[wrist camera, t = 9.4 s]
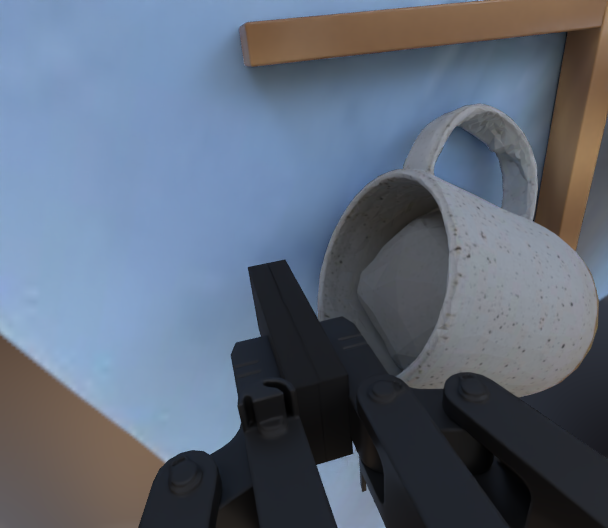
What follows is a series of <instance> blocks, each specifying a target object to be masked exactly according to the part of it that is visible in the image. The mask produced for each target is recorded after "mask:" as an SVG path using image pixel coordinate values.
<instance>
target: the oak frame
mask: <svg viewBox="0 0 608 528" xmlns="http://www.w3.org/2000/svg"><path fill="white" fill-rule="evenodd" d="M559 32H567V37H566V43H565V49H564V54H563V60H562V66H561V72H560V77H559V83H558V89H557V95H556V100H555V106H554V112H553V118H552V123H551V129H550V135H549V140H548V146H547V152H546V158H545V163H544V169H543V175H542V181H541V186H540V192H539V198H538V204H537V209H536V215H535V221H534V222H535V223H537V224H539V225H541V226H543V227H545V228H547V229H548V230H550V231H551V232H553V233H555V234H556V235H557V236H558V237H560V238H561V239H562V240H563V241H564V242H566V243H567V244H568V245H569V246H570V247H571V248H572V249H573V250H574V251H575V252H576V248H577V243H578V239H579V235H580V230H581V226H582V222H583V218H584V213H585V209H586V205H587V200H588V196H589V192H590V187H591V183H592V179H593V174H594V170H595V166H596V162H597V157H598V153H599V149H600V144H601V140H602V136H603V131H604V127H605V123H606V118H607V114H608V0H483V1H472V2H461V3H450V4H440V5H429V6H418V7H407V8H396V9H385V10H374V11H363V12H353V13H342V14H331V15H320V16H309V17H298V18H287V19H277V20H266V21H255V22H247V23H245V24H243V25H242V26H240V27H239V33H240V40H241V47H242V54H243V60H244V65H245V66H247V67H257V66H266V65H275V64H284V63H293V62H302V61H310V60H319V59H328V58H337V57H346V56H355V55H364V54H373V53H382V52H390V51H399V50H408V49H417V48H426V47H435V46H444V45H453V44H462V43H470V42H479V41H488V40H497V39H506V38H515V37H524V36H533V35H542V34H550V33H559Z"/></svg>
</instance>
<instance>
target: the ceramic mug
mask: <svg viewBox="0 0 608 528" xmlns="http://www.w3.org/2000/svg"><path fill="white" fill-rule="evenodd" d="M457 126H458V127H461V128H463V129H464V130H466V131H467V132H469V133H470V134H472V135H473V136H475V137H476V138H478V139H479V140H481V141H482V142H483V143H485V144H486V145H487V146H488V148H489V149H490V151H492V152H495V153H496V155H497V157H498V159H499V163H500V168H501V172H502V179H503V200H502V207H501V208H500V207H498V206H496V205H494V204H492V203H490V202H488V201H486V200H484V199H482V198H480V197H478V196H476V195H474V194H472V193H470V192H468V191H465V190H463V189H461V188H459V187H457V186H455V185H453V184H451V183H448V182H446V181H444V180H442V179H440V178H438V177H436V176H434V165H435V162H436V160H437V158H438V156H439V154H440V153H441V151H442V149H443V146H444V144H445V142H446V141H447V139H448V137H449V136H450V134H451V132H452V131H453V129H454V128H455V127H457ZM537 192H538V182H537V165H536V161H535V158H534V155H533V152H532V149H531V146H530V144H529V142H528V140H527V138H526V136H525V134H524V133H523V132H522V130H521V129H520V128H519V126H518V125H517V124H516V123H515V122H514V121H513V120H512V119H511V118H510V117H509V116H507V115H506V114H504V113H503V112H501V111H500V110H498V109H496V108H494V107H491V106H488V105H485V104H474V105H467V106H463V107H461V108H459V109H457V110H455V111H452V112H449V113H446V114H443V115H441V116H440V117H438V118H436V119H435V120H433V121H432V122H430V123H429V124H428V125H427V126H426V127H425V128H424V129H423V130H422V131H421V132H420V134H419V135H418V136H417V138H416V140H415V142H414V144H413V146H412V148H411V150H410V152H409V154H408V156H407V158H406V160H405V163H404V166H403V169H397V170H393V171H390V172H387V173H385V174H383V175H380V176H378V177H377V178H376V179H374V180H373V181H371V182H370V183H368V184H367V185H366V186H365V187H364V188H363V189H362V190H361V191H360V192H359V193H358V194H357V195H356V196H355V197H354V199H353V200H352V201H351V203H350V204H349V206H348V207H347V208H346V210H345V211H344V213H343V215H342V216H341V218H340V220H339V222H338V224H337V226H336V228H335V230H334V232H333V234H332V237H331V239H330V242H329V244H328V246H327V250H326V253H325V256H324V260H323V264H322V268H321V272H320V277H319V289H318V304H317V309H318V320H319V322H320V321H324V320H328V319H333V318H337V317H341V316H343V317H344V318H346V319H348V320H349V321H351V322H353V323H354V324H355V325H356V327H357V328H358V330H359V331H360V333H361V335H362V336H363V337H364V339H365V340H366V341H367V344H369V346H370V347H371V349H372V350H373V352H374V353H375V355H376V356H377V358H378V359H379V361H380V362H381V364H382V365H383V366H384V368H385V369H386V371H387V372H388V374H389V375H393V376H395V377H397V378H400V379H402V380H403V381H404V382H405V383H406V384H407V385H408V386H409V387H412V388H418V389H444V384H445V381H446V380H447V379H448V378H449V377H450V376H451V375H454V374H457V373H460V372H472V373H476V374H481V375H483V376H485V377H487V378H489V379H491V380H493V381H494V382H496V383H497V384H499V385H500V386H502V387H503V388H505V389H506V390H508V391H509V392H511V393H512V394H514V395H515V396H516V397H522V396H526V395H530V394H534V393H538V392H541V391H543V390H546V389H548V388H550V387H552V386H554V385H556V384H558V383H560V382H562V381H563V380H564V379H565V378H566V377H567V376H569V375H570V374H571V373H572V372H573V371H574V370H576V369H577V368H578V367H579V365H580V363H581V362H582V361H583V359H584V358H585V356H586V355H587V353H588V351H589V350H590V348H591V346H592V343H593V340H594V337H595V334H596V331H597V328H598V308H599V300H598V295H597V290H596V287H595V283H594V280H593V276H592V274H591V272H590V270H589V269H588V267H587V266H586V264H585V263H584V261H583V260H582V259H581V258H580V256H579V255H578V254H577V253H576V252H575V251H574V250H573V249H572V248H571V247H570V246H569V245H568V244H567V243H566V242H564V241H563V240H562V239H561V238H560V237H558V236H557V235H556V234H555V233H553V232H551V231H550V230H548V229H547V228H545V227H543V226H541V225H539V224H537V223H535V222H533V217H534V213H535V208H536V199H537Z"/></svg>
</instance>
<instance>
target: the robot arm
mask: <svg viewBox="0 0 608 528" xmlns="http://www.w3.org/2000/svg"><path fill="white" fill-rule="evenodd" d="M248 271H249V276H250V282H251V288H252V294H253V299H254V305H255V311H256V316H257V322H258V328H259V331H260V335H261V337H258V338H253V339H249V340H245V341H241V342H237V343H235V346H234V348H233V351H232V353H231V359H232V365H233V370H234V376H235V382H236V387H237V393H238V410H239V415H240V419H241V425H240V429H239V431H238V432H237V434H236V436H235V437H234V438H233V439H232V440H231V441H230V442H229V443H228V444H226V445H225V446H224V447H222V448H221V449H219V450H217V451H216V452H214V453H212V454H211V455H209V454H207V453H206V452H204V451H195V450H191V451H187V452H183V453H180V454H178V455H176V456H175V457H173V458H171V459H169V460H168V461H167V462H166V463H165V464H164V466H162V467H161V468H160V469H159V471H158V473H157V475H156V477H155V479H154V481H153V484H152V487H151V490H150V493H149V497H148V499H147V502H146V505H145V509H144V512H143V515H142V518H141V521H140V524H139V527H138V528H337V525H336V522H335V519H334V516H333V513H332V510H331V507H330V504H329V501H328V498H327V495H326V493H325V490H324V487H323V484H322V481H321V478H320V475H319V472H318V469H317V466H316V465H318V464H321V463H324V462H328V461H331V460H334V459H337V458H341V457H344V456H347V455H350V454H353V446H352V441H353V443H354V445H355V447H356V450H357V452H358V454H359V463H360V483H361V488H362V492H364V491H366V484H367V486H368V488H369V490H370V493H371V495H372V497H373V499H374V502H375V504H376V506H377V508H378V510H379V513H380V515H381V517H382V519H383V522H384V524H385V526H386V528H608V459H607V458H606V457H604V456H603V455H601V454H600V453H598V452H597V451H595V450H594V449H592V448H591V447H590V446H588V445H586V444H585V443H584V442H582V441H581V440H579V439H578V438H576V437H575V436H573V435H572V434H571V433H569V432H568V431H566V430H565V429H563V428H562V427H560V426H559V425H557V424H556V423H554V422H553V421H552V420H550V419H549V418H547V417H546V416H544V415H543V414H541V413H540V412H538V411H537V410H535V409H534V408H532V407H531V406H529V405H528V404H527V403H525V402H524V401H522V400H521V399H519V398H518V397H516V396H515V395H514V394H512V393H511V392H509V391H508V390H506V389H505V388H503V387H502V386H500V385H499V384H497V383H496V382H494V381H493V380H491V379H489V378H487V377H485V376H483V375H481V374H476V373H472V372H460V373H457V374H454V375H451V376H450V377H449V378H448V379H447V380H446V381H445V384H444V389H418V388H412V387H409V386H408V385H407V384H406V383H405V382H404V381H403V380H402V379H400V378H397V377H395V376H393V375H389V374H388V372H387V371H386V369H385V368H384V366H383V365H382V364H381V362H380V361H379V359H378V358H377V356H376V355H375V353H374V352H373V350H372V349H371V347H370V346H369V344H367V341H366V340H365V339H364V337H363V336H362V335H361V333H360V331H359V330H358V328H357V327H356V325H355V324H354V323H353V322H351V321H349V320H348V319H346V318H344V317H343V316H341V317H337V318H333V319H328V320H324V321H320V322H319V320H318V318H317V316H316V315H315V313H314V311H313V309H312V307H311V306H310V304H309V302H308V300H307V298H306V296H305V295H304V293H303V291H302V289H301V287H300V286H299V284H298V282H297V280H296V278H295V276H294V275H293V273H292V271H291V269H290V267H289V265H288V264H287V262H286V260H281V261H276V262H271V263H266V264H261V265H257V266H252V267H248Z"/></svg>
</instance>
